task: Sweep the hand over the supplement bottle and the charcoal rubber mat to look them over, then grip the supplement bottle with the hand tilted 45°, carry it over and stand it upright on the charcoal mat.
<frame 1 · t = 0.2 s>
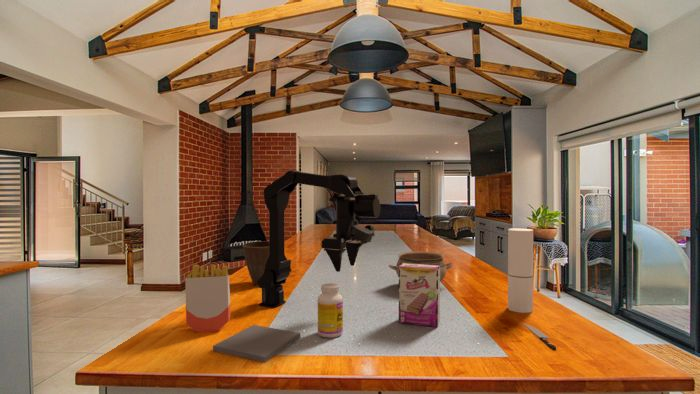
hand: (345, 268, 115), 14 cm above the counter, tool pointing down, fingers open, 9 cm apart
supplement bottle: (330, 334, 101), on the counter
chef's knife: (540, 336, 100), on the counter
candy bar box: (419, 323, 109), on the counter
cooking pot: (420, 287, 147), on the counter
charcoal mat: (258, 343, 95), on the counter
cylindrical container: (520, 309, 120), on the counter
french fries container: (209, 329, 106), on the counter
plant pot: (262, 283, 154), on the counter
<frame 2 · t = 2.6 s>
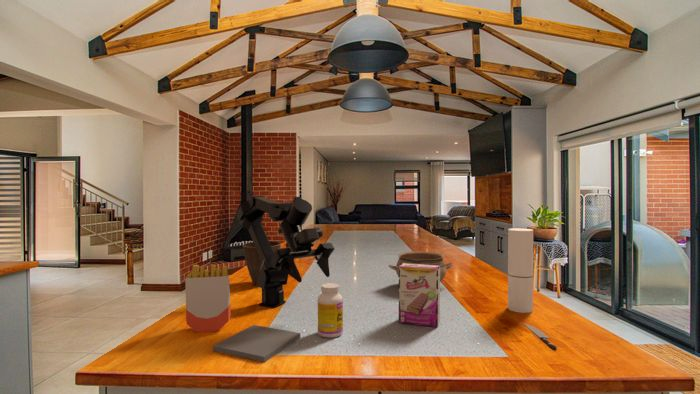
hand: (315, 278, 106), 13 cm above the counter, tool tilted 45°, fingers open, 9 cm apart
nothing on the counter moved.
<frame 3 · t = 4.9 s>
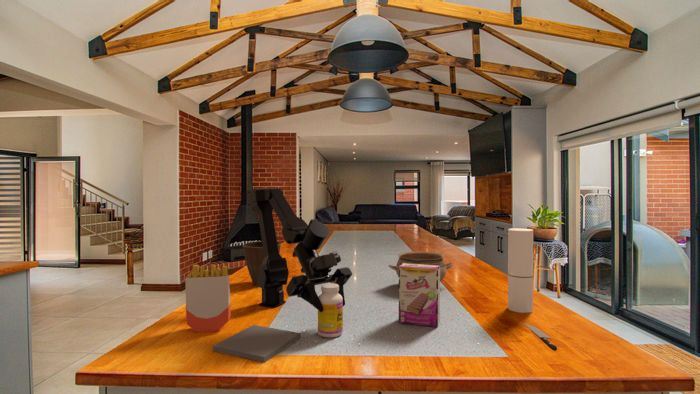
hand: (333, 308, 100), 7 cm above the counter, tool tilted 45°, fingers closed on supplement bottle, 7 cm apart
supplement bottle: (330, 334, 101), on the counter, touching gripper
everything else where it was.
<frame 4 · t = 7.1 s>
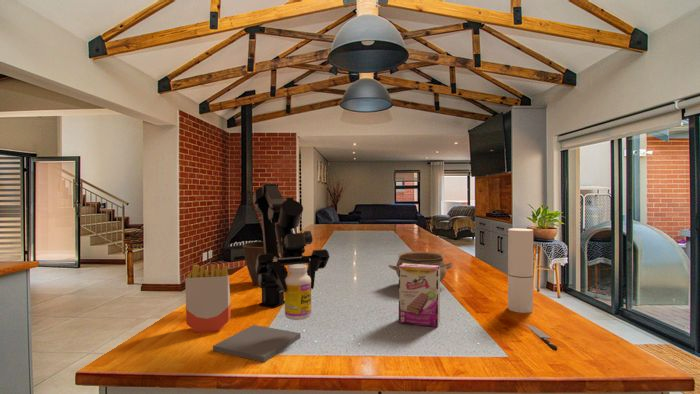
hand: (299, 289, 95), 13 cm above the counter, tool tilted 45°, fingers closed on supplement bottle, 7 cm apart
supplement bottle: (298, 317, 97), point 6 cm above the counter, touching gripper
everything else where it was.
when the fingers open (9 cm above the counter, at t = 9.3 s): supplement bottle stays where it is, resting on charcoal mat.
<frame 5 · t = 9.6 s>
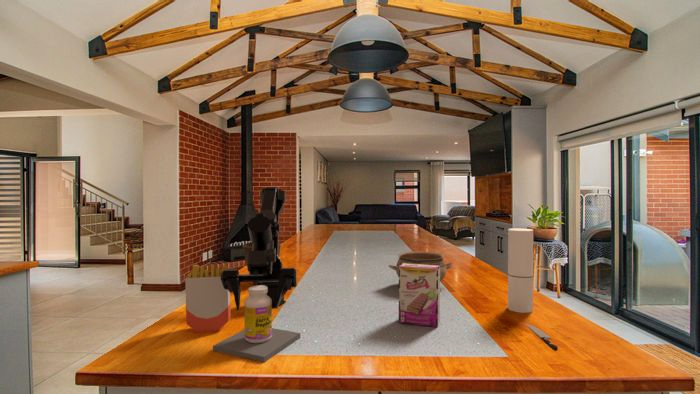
hand: (257, 308, 93), 9 cm above the counter, tool tilted 45°, fingers open, 9 cm apart
supplement bottle: (258, 339, 95), point 1 cm above the counter, touching charcoal mat
everything else where it was.
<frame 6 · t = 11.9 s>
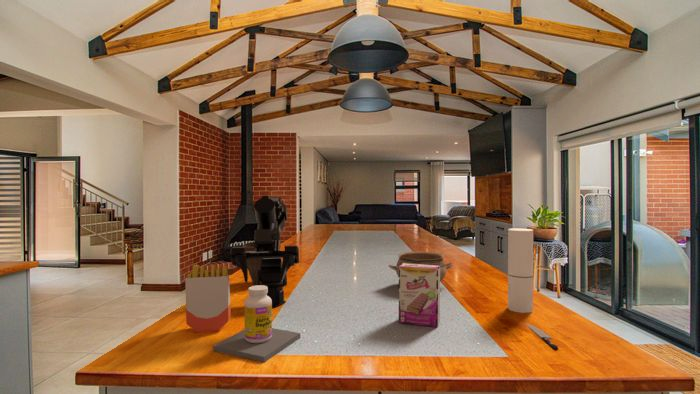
hand: (263, 282, 102), 14 cm above the counter, tool tilted 45°, fingers open, 9 cm apart
nothing on the counter moved.
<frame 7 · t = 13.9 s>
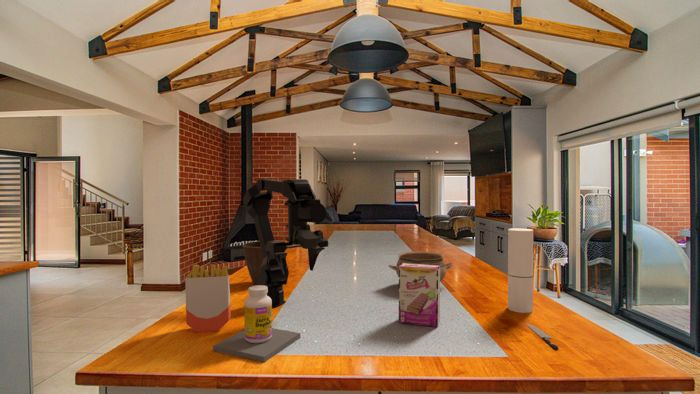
hand: (298, 272, 115), 13 cm above the counter, tool pointing down, fingers open, 9 cm apart
nothing on the counter moved.
at the end: supplement bottle inside the target area on the charcoal mat (0.2 cm from its centre), point 1.0 cm above the charcoal mat's base; supplement bottle tilted 0°; the gripper is holding nothing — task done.
